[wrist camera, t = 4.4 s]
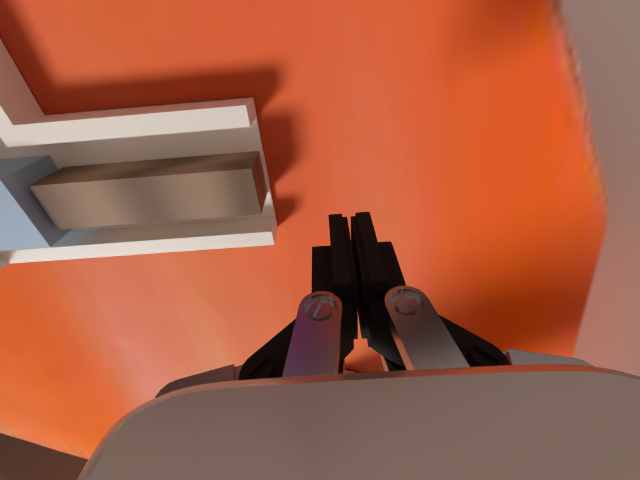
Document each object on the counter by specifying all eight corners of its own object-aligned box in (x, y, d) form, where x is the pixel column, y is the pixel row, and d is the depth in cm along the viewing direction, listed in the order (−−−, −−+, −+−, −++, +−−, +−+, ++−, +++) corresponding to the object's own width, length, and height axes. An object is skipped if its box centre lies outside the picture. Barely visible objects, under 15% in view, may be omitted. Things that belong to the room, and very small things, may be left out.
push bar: (259, 150, 21) (251, 168, 18) (267, 192, 23) (261, 214, 20) (63, 166, 21) (28, 186, 19) (87, 206, 23) (58, 229, 20)
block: (49, 154, 21) (-1, 178, 17) (87, 217, 24) (50, 247, 20) (-20, 160, 21) (-83, 185, 18) (25, 221, 24) (-21, 252, 20)
